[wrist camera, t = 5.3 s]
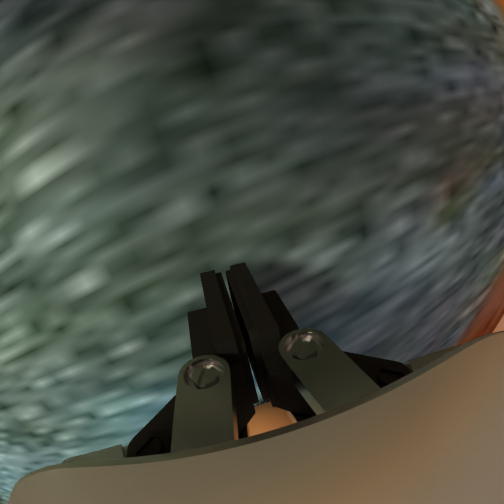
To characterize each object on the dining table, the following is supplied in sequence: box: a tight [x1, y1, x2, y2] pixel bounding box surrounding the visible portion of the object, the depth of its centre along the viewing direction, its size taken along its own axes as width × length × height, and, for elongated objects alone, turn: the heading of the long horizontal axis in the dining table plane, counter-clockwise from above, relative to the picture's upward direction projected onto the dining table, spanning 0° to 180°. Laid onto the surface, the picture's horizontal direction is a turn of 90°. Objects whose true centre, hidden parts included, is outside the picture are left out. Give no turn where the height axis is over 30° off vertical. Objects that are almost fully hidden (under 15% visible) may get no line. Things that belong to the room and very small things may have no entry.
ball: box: [248, 402, 293, 436], centre depth 14 cm, size 6×6×6 cm
